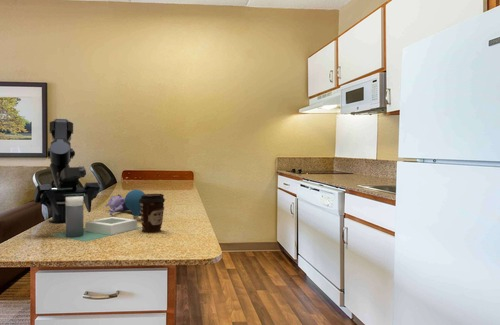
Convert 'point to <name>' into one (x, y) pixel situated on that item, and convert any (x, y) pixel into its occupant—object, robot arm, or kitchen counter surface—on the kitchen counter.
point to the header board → (103, 228)
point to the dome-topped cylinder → (74, 216)
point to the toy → (117, 204)
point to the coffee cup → (151, 212)
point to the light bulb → (134, 202)
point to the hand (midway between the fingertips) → (74, 213)
